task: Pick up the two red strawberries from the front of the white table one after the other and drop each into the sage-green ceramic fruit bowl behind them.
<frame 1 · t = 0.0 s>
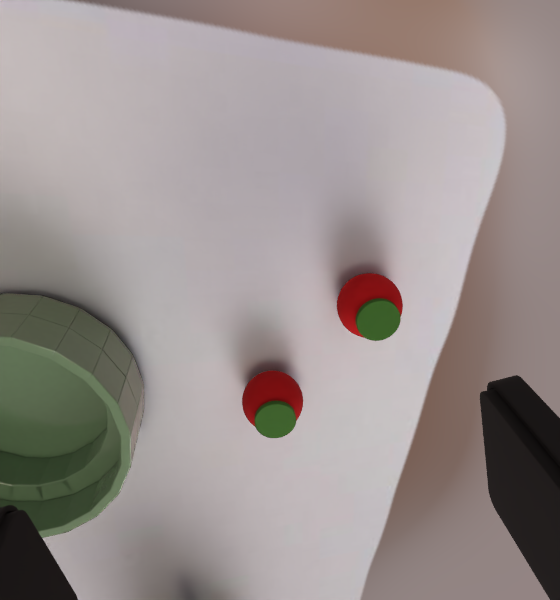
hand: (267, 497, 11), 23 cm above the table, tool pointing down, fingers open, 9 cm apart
strawberry a: (361, 292, 35), on the table
fruit bowl: (35, 388, 35), on the table
strawberry b: (270, 384, 37), on the table
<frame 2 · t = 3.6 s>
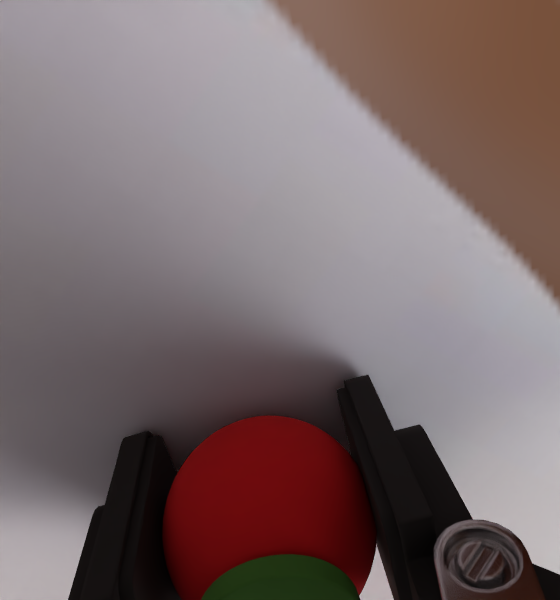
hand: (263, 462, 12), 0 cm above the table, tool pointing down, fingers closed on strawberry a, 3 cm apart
strawberry a: (262, 453, 12), on the table, touching gripper
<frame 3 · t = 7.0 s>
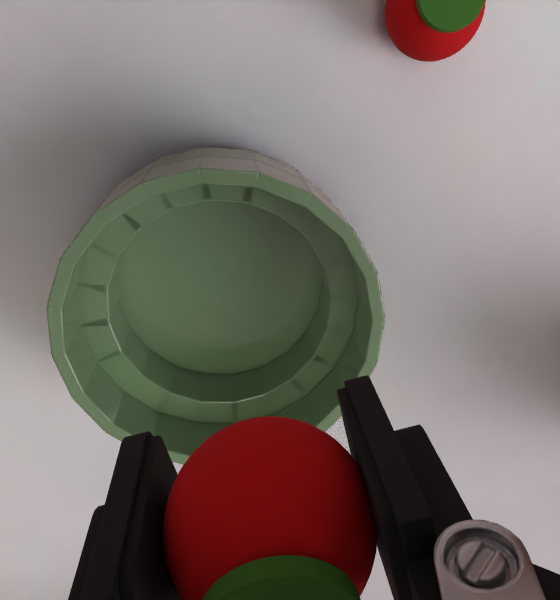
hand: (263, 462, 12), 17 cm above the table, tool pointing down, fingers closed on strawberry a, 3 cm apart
strawberry a: (263, 453, 12), point 17 cm above the table, touching gripper
fruit bowl: (221, 283, 28), on the table
strawberry b: (419, 20, 24), on the table, tilted 10°
when the fingers open (3 cm above the table, at t = 10.6 s): strawberry a drops 2 cm, resting on fruit bowl.
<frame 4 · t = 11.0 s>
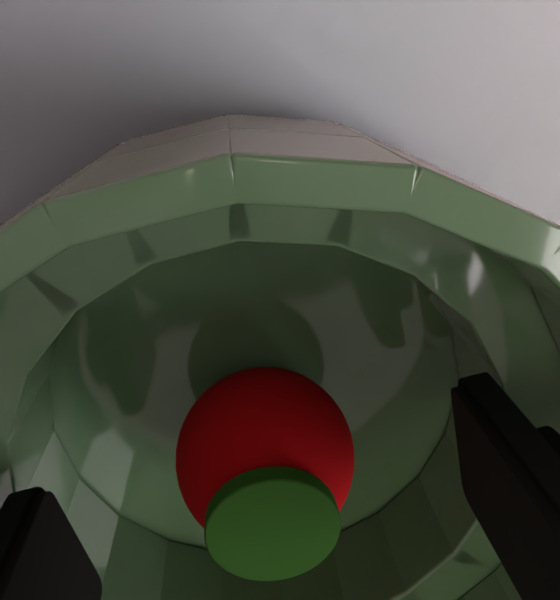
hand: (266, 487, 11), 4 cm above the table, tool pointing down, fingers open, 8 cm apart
strawberry a: (260, 404, 14), point 1 cm above the table, touching fruit bowl
fruit bowl: (259, 391, 14), on the table
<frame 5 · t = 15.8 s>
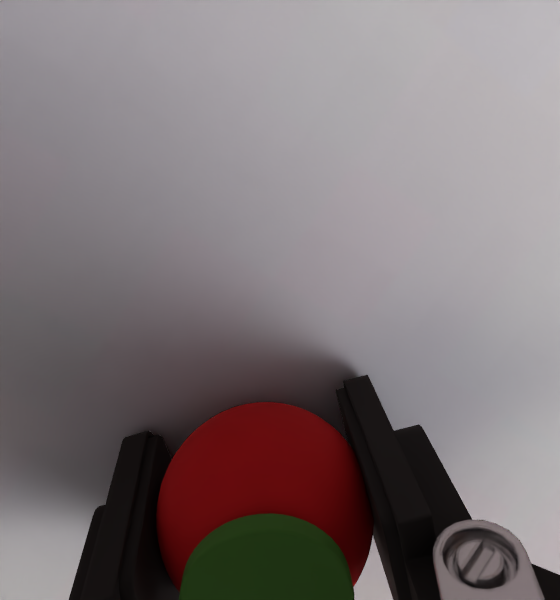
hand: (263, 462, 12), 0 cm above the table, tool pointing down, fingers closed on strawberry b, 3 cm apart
strawberry b: (264, 453, 12), on the table, tilted 10°, touching gripper
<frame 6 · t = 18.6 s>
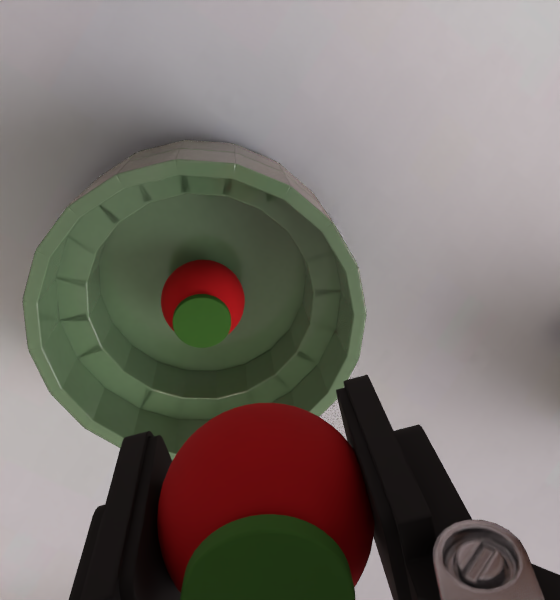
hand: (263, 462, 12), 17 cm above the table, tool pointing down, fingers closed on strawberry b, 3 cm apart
strawberry a: (204, 283, 28), point 1 cm above the table, touching fruit bowl
fruit bowl: (204, 279, 28), on the table
strawberry b: (265, 454, 12), point 17 cm above the table, tilted 10°, touching gripper
when the fingers open (5 cm above the table, at t = 21.5 s): strawberry b moves 4 cm and tips over, resting on fruit bowl, strawberry a.
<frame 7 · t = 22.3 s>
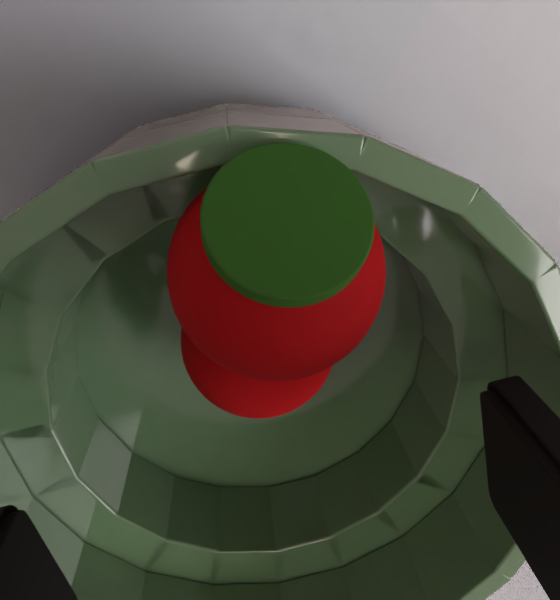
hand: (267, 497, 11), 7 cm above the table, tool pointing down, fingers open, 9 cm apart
strawberry a: (255, 358, 16), point 1 cm above the table, tilted 44°, touching fruit bowl, strawberry b
fruit bowl: (253, 343, 17), on the table
strawberry b: (269, 306, 12), point 4 cm above the table, tilted 43°, touching fruit bowl, strawberry a
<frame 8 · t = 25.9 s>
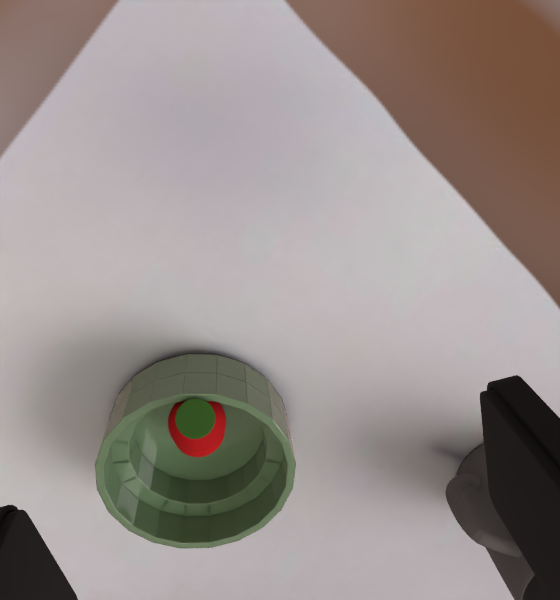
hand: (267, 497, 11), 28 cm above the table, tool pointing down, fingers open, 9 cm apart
mug: (481, 464, 49), on the table
strawberry a: (199, 433, 43), point 1 cm above the table, tilted 44°, touching fruit bowl, strawberry b
fruit bowl: (200, 425, 44), on the table
strawberry b: (198, 424, 39), point 4 cm above the table, tilted 43°, touching fruit bowl, strawberry a
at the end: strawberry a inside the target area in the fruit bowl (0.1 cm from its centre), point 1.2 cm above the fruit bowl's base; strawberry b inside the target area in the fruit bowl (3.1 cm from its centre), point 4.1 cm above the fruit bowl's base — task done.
